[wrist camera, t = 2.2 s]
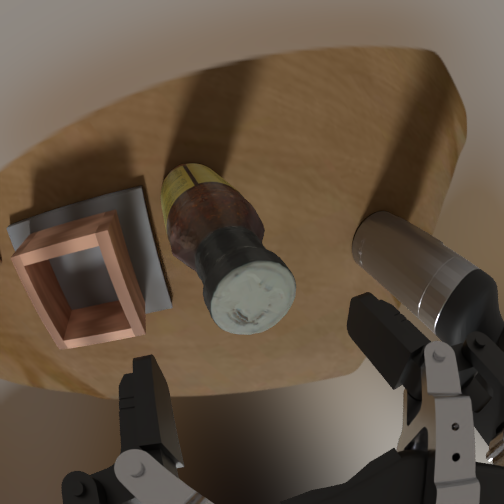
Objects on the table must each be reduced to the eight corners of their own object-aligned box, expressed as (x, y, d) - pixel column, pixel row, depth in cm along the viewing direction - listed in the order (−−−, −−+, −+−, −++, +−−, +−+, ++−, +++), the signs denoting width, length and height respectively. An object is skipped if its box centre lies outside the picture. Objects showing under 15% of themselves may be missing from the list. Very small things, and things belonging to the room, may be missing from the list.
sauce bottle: (169, 224, 30) (193, 372, 13) (153, 169, 27) (145, 270, 10) (227, 207, 31) (315, 331, 14) (215, 152, 28) (310, 221, 11)
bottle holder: (141, 185, 27) (137, 204, 22) (171, 302, 34) (177, 338, 29) (10, 224, 23) (-16, 250, 18) (56, 326, 31) (46, 361, 25)
